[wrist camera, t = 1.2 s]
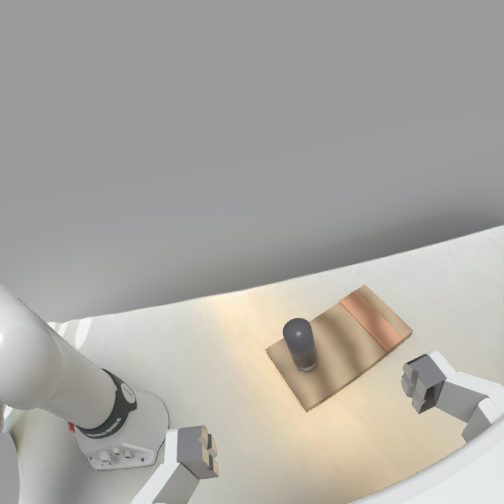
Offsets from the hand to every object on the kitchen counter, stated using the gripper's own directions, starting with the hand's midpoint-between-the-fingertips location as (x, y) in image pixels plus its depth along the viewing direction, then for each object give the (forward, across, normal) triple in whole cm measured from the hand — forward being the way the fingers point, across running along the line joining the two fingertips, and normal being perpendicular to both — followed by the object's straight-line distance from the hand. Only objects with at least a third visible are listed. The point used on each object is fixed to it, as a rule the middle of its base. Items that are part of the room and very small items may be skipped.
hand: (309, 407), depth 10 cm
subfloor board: (+30, +11, -29) cm, 43 cm away
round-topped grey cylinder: (+28, +4, -29) cm, 41 cm away
